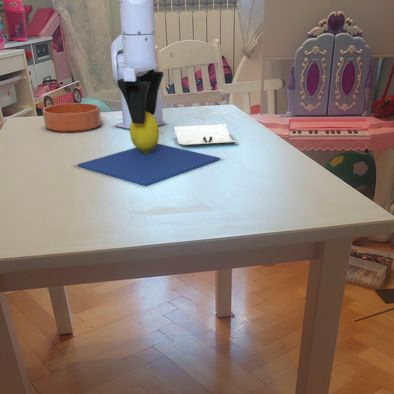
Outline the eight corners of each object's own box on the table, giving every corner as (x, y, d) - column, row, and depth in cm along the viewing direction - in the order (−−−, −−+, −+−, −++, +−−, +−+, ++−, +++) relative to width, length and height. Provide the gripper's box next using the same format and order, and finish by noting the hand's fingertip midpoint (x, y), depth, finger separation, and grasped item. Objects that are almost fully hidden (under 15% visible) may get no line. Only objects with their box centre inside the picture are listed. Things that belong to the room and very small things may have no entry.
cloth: (153, 144, 104) (153, 142, 104) (219, 159, 95) (219, 157, 95) (78, 166, 92) (78, 164, 92) (145, 186, 83) (145, 183, 82)
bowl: (78, 118, 126) (76, 101, 124) (112, 125, 119) (110, 107, 117) (34, 127, 118) (31, 109, 116) (68, 136, 111) (65, 116, 109)
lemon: (161, 150, 99) (159, 106, 94) (157, 157, 95) (155, 112, 90) (134, 149, 100) (131, 106, 95) (129, 157, 95) (125, 112, 90)
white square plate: (183, 150, 100) (182, 140, 99) (174, 136, 110) (174, 126, 109) (240, 147, 102) (240, 137, 101) (226, 133, 112) (226, 124, 111)
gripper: (128, 30, 92) (134, 110, 100) (102, 37, 80) (111, 126, 88) (165, 30, 91) (168, 111, 99) (144, 37, 79) (149, 128, 87)
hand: (144, 118), depth 93 cm, fingers open, 7 cm apart
